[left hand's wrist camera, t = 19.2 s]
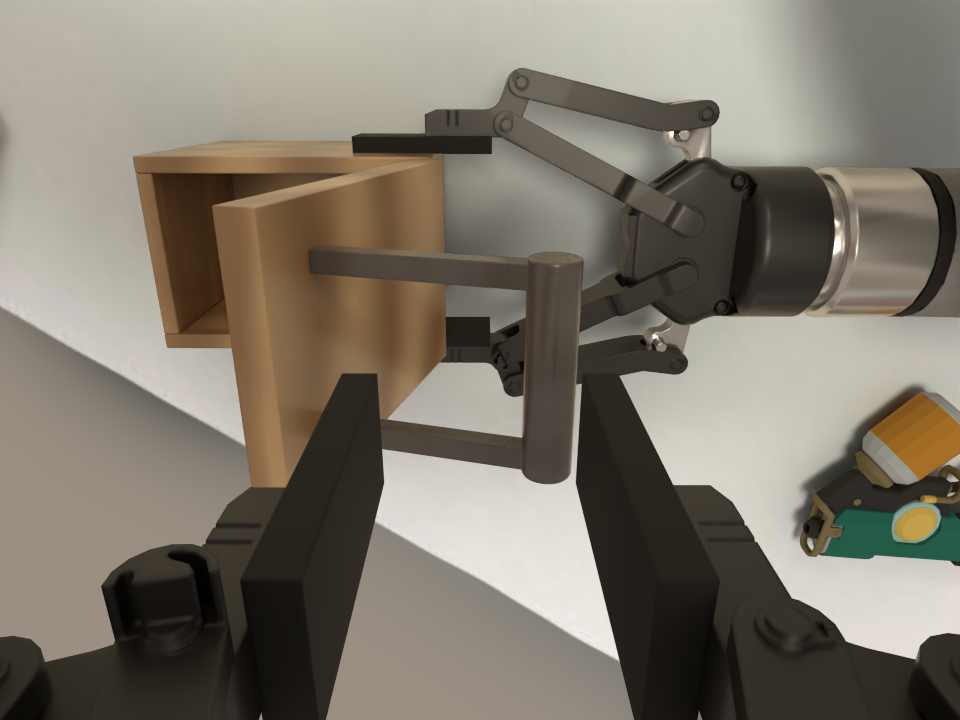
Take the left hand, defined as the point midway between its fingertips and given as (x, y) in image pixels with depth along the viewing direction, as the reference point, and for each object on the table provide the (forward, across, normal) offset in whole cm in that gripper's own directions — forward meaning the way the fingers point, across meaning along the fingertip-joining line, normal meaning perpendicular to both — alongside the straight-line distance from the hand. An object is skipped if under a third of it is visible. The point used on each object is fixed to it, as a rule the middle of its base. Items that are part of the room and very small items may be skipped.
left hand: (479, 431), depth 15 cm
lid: (+10, -5, 0) cm, 11 cm away
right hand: (+21, -6, 0) cm, 22 cm away
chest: (+28, -9, 0) cm, 29 cm away
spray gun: (+28, +32, -19) cm, 46 cm away
